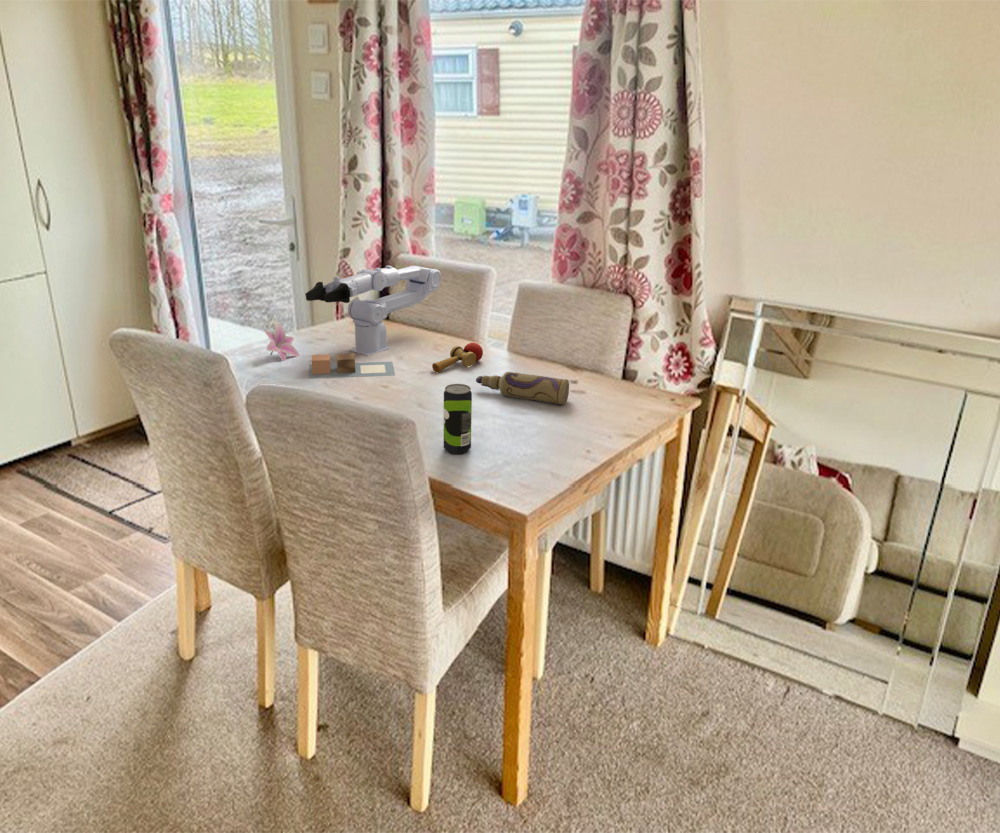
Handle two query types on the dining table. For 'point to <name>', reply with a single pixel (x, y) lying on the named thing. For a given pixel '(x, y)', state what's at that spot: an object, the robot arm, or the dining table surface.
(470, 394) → the beverage can
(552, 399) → the decorative bottle
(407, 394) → the dining table surface
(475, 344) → the kendama
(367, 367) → the board
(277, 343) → the lily
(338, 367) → the walnut block
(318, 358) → the terracotta block
